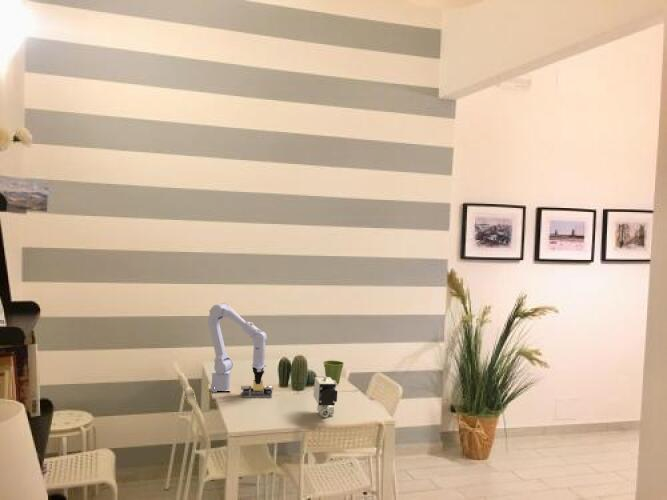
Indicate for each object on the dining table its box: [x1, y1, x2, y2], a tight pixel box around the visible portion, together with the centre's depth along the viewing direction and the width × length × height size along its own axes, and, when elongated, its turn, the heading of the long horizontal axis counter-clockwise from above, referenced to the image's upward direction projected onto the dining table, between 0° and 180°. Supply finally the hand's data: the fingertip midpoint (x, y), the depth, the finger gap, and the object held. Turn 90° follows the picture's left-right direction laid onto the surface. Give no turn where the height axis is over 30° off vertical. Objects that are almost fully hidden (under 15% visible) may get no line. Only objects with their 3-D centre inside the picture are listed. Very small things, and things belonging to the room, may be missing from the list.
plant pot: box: [322, 360, 345, 384], centre depth 336 cm, size 12×12×11 cm
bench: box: [240, 385, 274, 399], centre depth 303 cm, size 16×10×5 cm, turn 100°
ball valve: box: [313, 375, 338, 418], centre depth 277 cm, size 18×8×18 cm, turn 11°
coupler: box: [252, 379, 264, 392], centre depth 303 cm, size 4×4×6 cm
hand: (257, 382), depth 303 cm, fingers closed on coupler, 4 cm apart
